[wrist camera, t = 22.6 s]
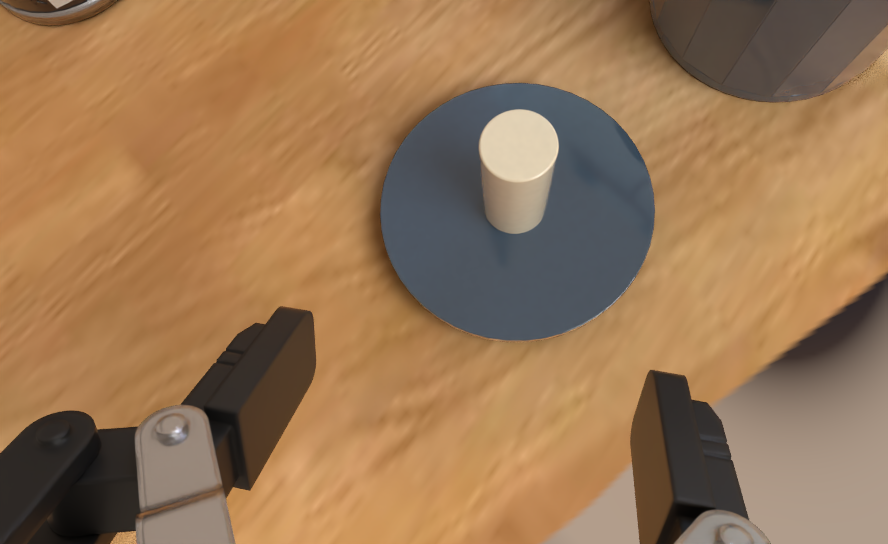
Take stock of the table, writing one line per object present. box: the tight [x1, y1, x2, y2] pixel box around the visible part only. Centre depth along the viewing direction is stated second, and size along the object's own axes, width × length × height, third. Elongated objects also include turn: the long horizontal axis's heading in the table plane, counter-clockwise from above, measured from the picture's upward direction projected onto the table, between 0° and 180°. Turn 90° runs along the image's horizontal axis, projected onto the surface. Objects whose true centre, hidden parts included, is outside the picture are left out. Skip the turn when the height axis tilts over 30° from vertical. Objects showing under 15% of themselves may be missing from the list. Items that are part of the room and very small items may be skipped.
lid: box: [380, 83, 655, 342], centre depth 24 cm, size 12×12×7 cm
